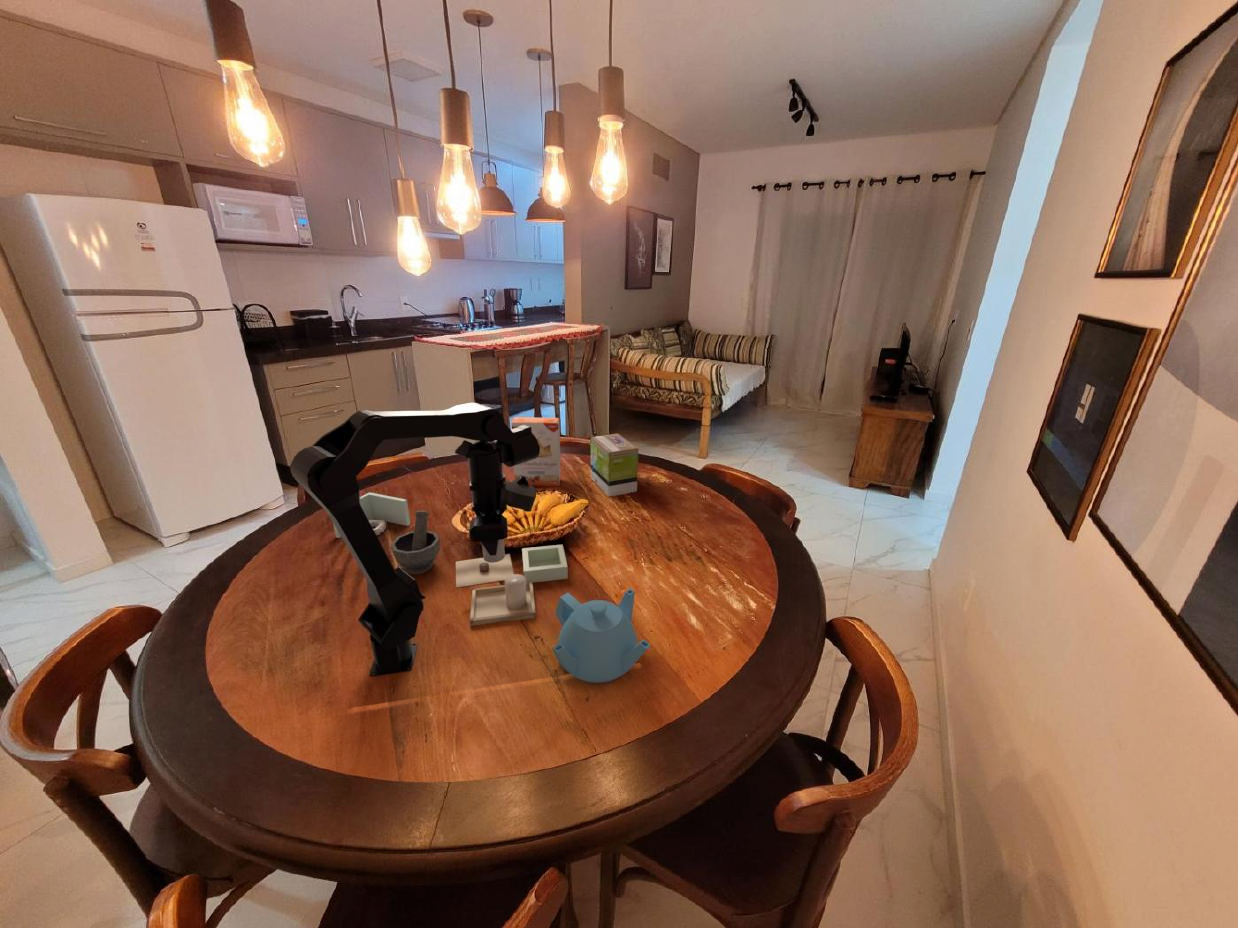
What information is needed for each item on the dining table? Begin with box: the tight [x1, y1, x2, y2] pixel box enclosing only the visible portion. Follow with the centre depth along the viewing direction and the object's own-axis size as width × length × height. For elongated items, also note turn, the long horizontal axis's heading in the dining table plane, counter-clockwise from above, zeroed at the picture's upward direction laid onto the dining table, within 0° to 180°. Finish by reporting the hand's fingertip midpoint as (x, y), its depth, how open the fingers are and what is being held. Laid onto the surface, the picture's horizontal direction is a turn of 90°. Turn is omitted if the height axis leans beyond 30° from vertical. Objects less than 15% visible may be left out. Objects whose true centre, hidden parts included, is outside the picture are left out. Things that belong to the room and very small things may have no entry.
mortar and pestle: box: [390, 510, 441, 575], centre depth 105 cm, size 11×9×12 cm
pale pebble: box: [504, 573, 527, 610], centre depth 94 cm, size 4×4×6 cm
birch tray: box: [469, 582, 537, 627], centre depth 95 cm, size 10×12×2 cm
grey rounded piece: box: [481, 539, 506, 563], centre depth 91 cm, size 4×4×6 cm
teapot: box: [552, 588, 652, 684], centre depth 81 cm, size 15×15×11 cm
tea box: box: [590, 433, 639, 497], centre depth 148 cm, size 15×10×15 cm, turn 25°
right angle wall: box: [332, 492, 411, 539], centre depth 120 cm, size 12×12×8 cm
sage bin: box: [521, 544, 569, 584], centre depth 106 cm, size 9×9×4 cm
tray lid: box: [455, 553, 515, 589], centre depth 105 cm, size 10×12×2 cm
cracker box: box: [511, 416, 561, 487], centre depth 148 cm, size 14×6×21 cm, turn 93°
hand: (493, 548), depth 91 cm, fingers closed on grey rounded piece, 4 cm apart
